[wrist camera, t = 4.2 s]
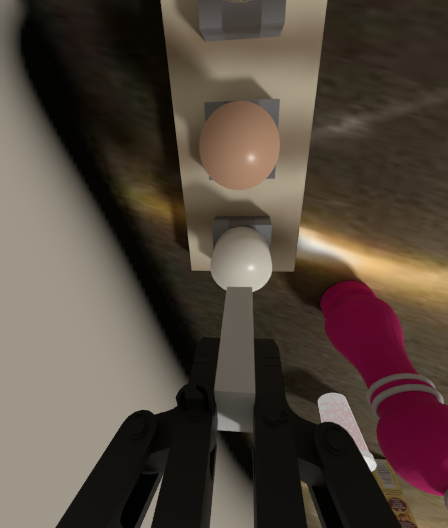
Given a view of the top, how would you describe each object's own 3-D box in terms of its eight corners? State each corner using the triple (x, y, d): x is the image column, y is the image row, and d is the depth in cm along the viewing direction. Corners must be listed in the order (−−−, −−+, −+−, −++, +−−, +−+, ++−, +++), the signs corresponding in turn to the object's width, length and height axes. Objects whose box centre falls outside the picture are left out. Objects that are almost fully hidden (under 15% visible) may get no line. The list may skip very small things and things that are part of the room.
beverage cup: (306, 397, 41) (331, 512, 28) (340, 385, 38) (384, 504, 26) (324, 415, 43) (355, 530, 30) (357, 404, 40) (405, 524, 28)
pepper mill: (306, 315, 32) (378, 535, 15) (331, 270, 28) (464, 491, 11) (358, 327, 32) (487, 558, 15) (388, 284, 29) (605, 521, 11)
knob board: (165, -56, 17) (133, -128, 12) (325, -74, 16) (359, -160, 11) (196, 257, 29) (187, 282, 24) (289, 258, 28) (298, 284, 23)
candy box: (367, 456, 48) (413, 582, 35) (389, 458, 48) (445, 586, 34) (357, 476, 52) (394, 595, 39) (377, 478, 52) (422, 598, 39)
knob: (216, 217, 23) (208, 240, 19) (268, 217, 23) (274, 240, 18) (218, 263, 26) (212, 293, 21) (265, 263, 25) (270, 294, 21)
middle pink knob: (212, 111, 17) (195, 102, 11) (270, 109, 16) (283, 98, 11) (215, 172, 19) (202, 190, 13) (267, 171, 18) (276, 189, 13)
